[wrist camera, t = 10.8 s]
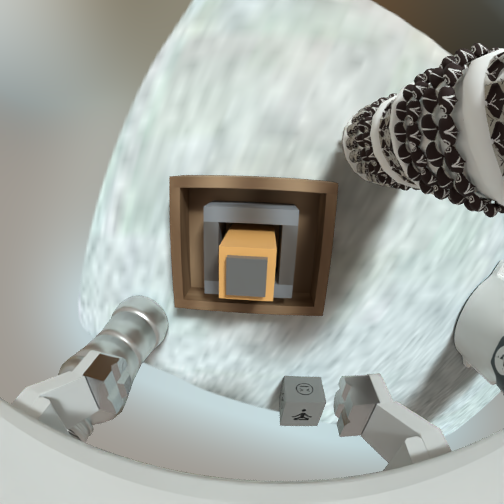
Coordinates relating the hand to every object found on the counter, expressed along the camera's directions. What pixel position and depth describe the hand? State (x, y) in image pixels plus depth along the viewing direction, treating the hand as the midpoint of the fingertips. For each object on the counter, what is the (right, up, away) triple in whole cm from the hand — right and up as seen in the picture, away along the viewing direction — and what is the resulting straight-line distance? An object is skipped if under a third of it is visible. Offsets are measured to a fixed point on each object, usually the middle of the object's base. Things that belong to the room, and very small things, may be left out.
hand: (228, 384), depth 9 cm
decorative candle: (+14, +16, +17) cm, 27 cm away
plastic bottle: (-12, -3, +24) cm, 27 cm away
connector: (+1, +6, +19) cm, 20 cm away
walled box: (+1, +6, +20) cm, 21 cm away
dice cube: (+7, -14, +26) cm, 31 cm away
